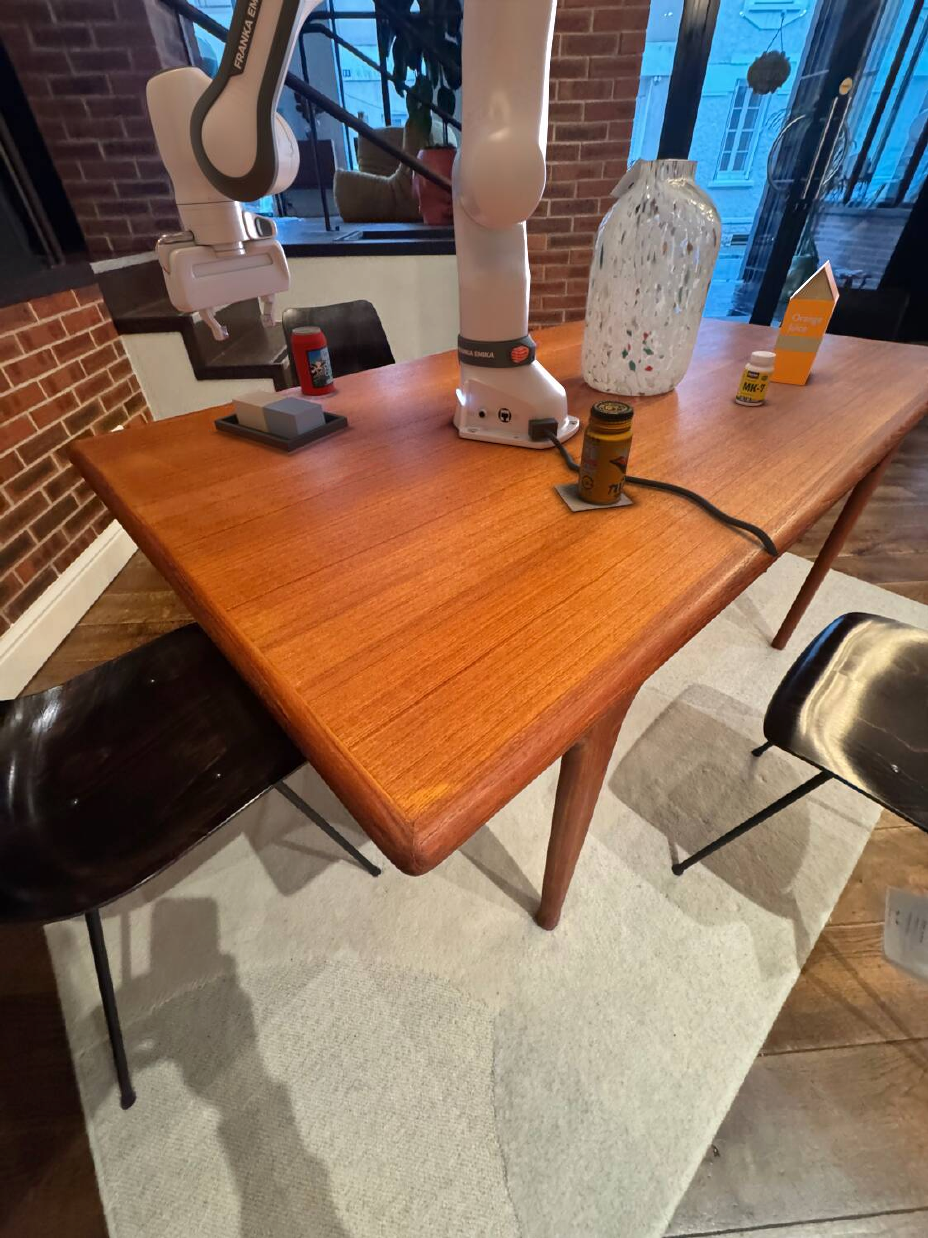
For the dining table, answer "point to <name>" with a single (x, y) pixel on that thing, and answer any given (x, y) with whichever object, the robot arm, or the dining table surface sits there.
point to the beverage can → (312, 361)
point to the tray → (279, 442)
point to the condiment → (602, 458)
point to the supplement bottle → (756, 378)
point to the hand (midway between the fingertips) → (246, 332)
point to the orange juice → (804, 327)
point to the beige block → (254, 408)
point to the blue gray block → (293, 417)
